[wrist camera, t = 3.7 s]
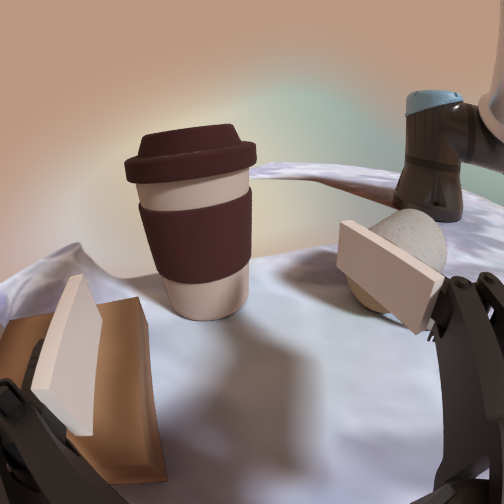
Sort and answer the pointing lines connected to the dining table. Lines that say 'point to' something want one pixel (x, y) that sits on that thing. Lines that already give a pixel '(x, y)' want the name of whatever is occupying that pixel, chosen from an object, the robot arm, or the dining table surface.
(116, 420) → the walnut slab
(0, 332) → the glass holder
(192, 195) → the coffee cup
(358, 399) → the dining table surface
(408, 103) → the robot arm
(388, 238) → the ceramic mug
